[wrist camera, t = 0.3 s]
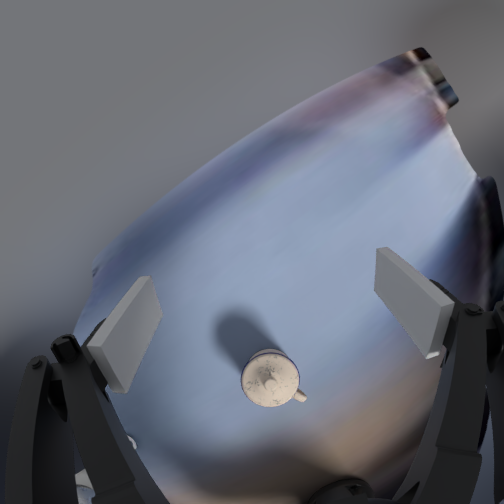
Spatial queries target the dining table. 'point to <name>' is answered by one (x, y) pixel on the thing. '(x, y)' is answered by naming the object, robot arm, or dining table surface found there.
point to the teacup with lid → (271, 379)
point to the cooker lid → (85, 495)
